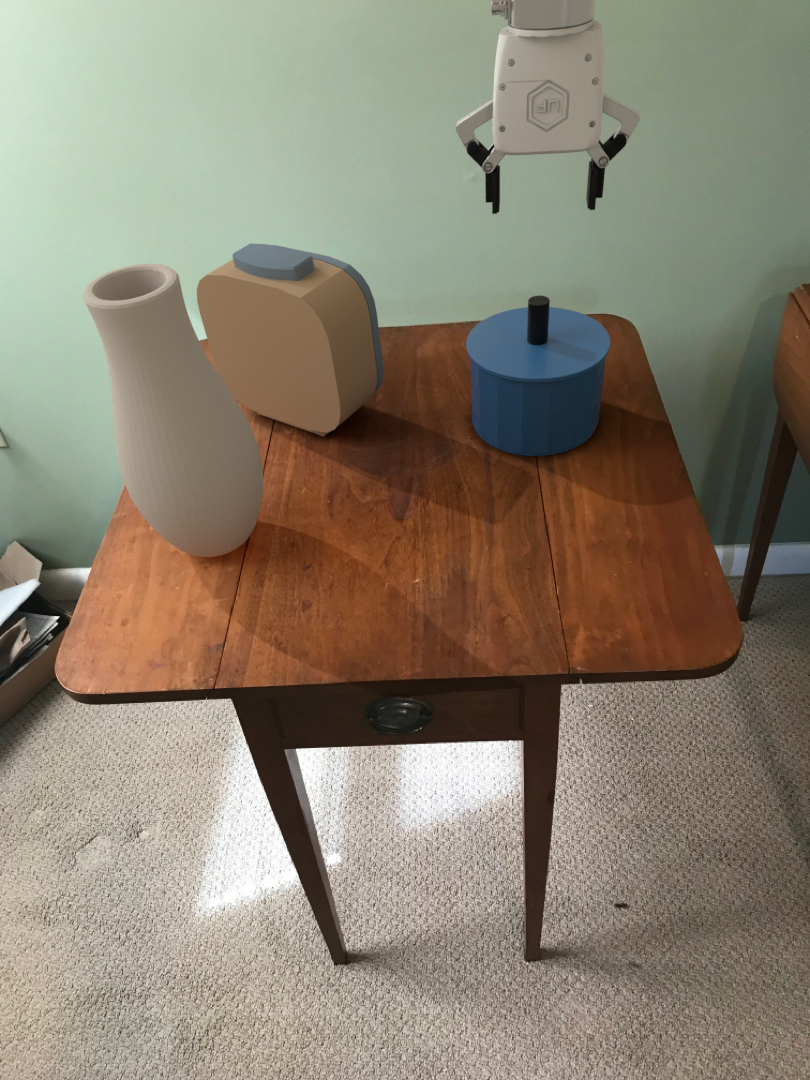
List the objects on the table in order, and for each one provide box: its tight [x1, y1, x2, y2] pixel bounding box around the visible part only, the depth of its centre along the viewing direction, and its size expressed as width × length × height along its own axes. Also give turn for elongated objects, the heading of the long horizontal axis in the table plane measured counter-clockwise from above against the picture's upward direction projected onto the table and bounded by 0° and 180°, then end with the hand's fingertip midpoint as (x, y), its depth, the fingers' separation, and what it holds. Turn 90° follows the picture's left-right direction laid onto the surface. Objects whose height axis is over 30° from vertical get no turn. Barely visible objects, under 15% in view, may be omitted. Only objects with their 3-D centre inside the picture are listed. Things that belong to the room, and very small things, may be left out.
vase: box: [82, 263, 264, 558], centre depth 76 cm, size 14×14×30 cm
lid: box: [465, 295, 611, 382], centre depth 88 cm, size 17×17×6 cm
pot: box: [469, 357, 607, 457], centre depth 94 cm, size 16×16×10 cm
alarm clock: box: [196, 243, 384, 437], centre depth 96 cm, size 21×10×22 cm, turn 57°
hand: (542, 206), depth 79 cm, fingers open, 9 cm apart
